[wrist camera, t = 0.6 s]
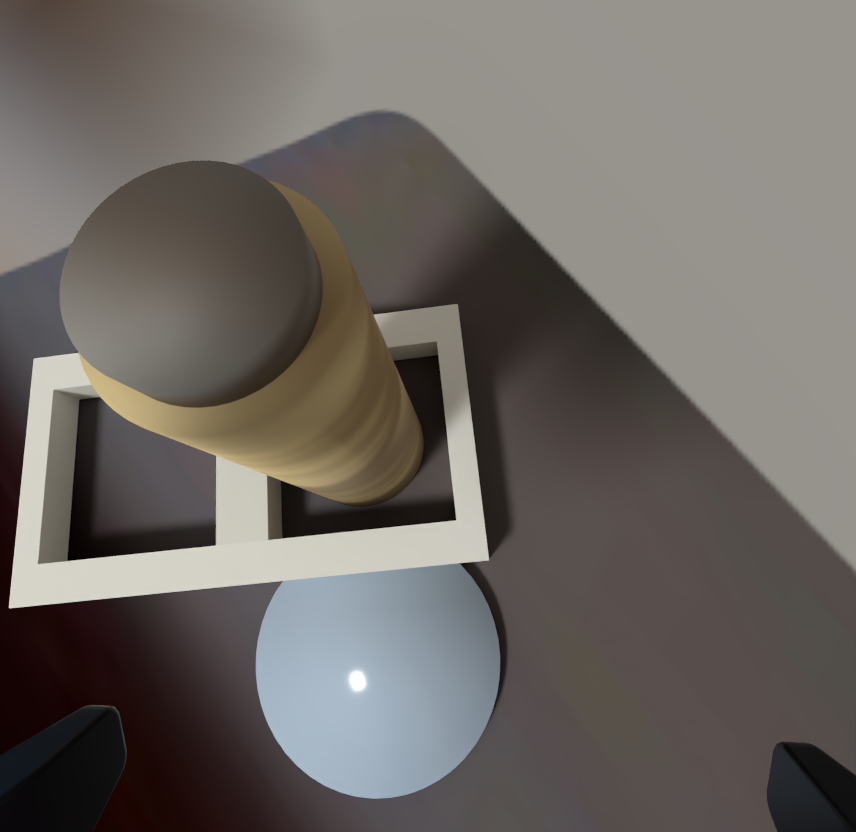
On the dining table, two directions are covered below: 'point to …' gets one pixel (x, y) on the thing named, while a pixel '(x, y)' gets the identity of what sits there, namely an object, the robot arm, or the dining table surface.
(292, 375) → the plug
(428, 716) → the coaster
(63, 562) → the holder
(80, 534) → the dining table surface
